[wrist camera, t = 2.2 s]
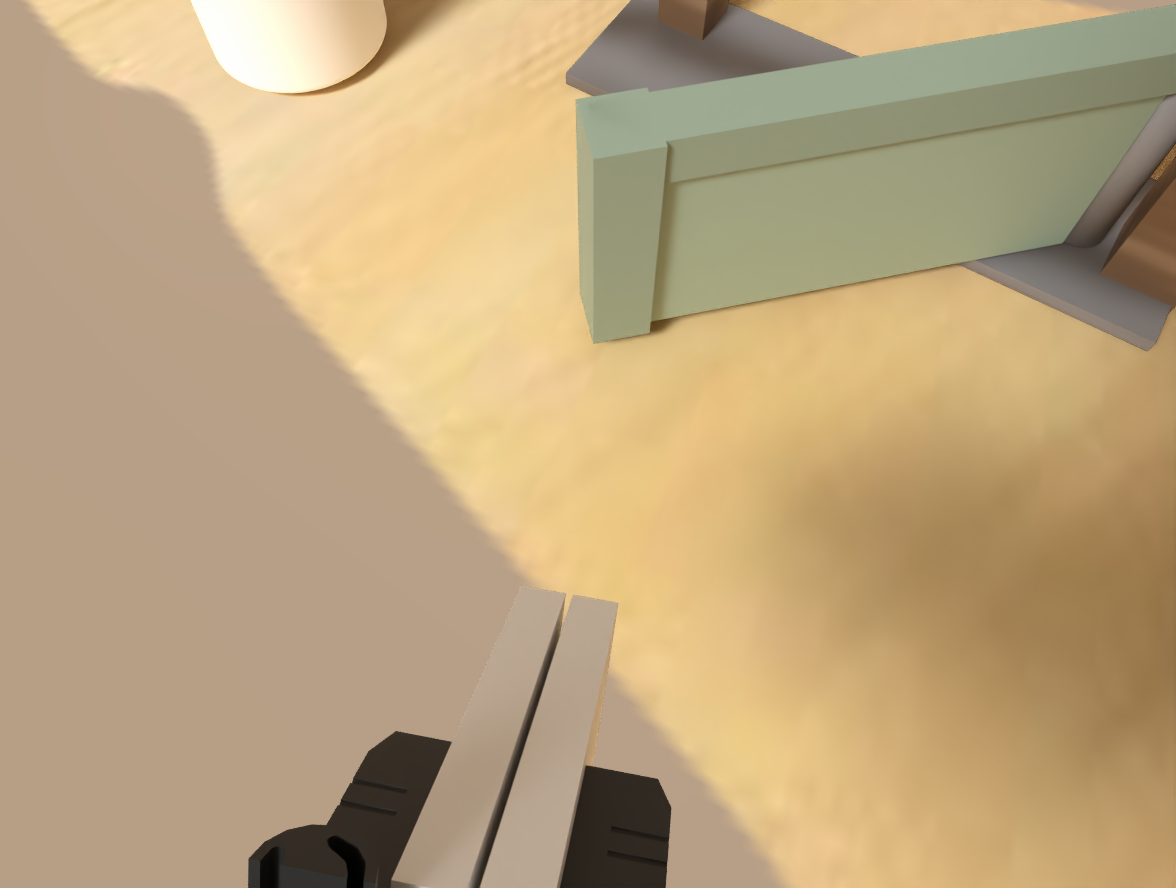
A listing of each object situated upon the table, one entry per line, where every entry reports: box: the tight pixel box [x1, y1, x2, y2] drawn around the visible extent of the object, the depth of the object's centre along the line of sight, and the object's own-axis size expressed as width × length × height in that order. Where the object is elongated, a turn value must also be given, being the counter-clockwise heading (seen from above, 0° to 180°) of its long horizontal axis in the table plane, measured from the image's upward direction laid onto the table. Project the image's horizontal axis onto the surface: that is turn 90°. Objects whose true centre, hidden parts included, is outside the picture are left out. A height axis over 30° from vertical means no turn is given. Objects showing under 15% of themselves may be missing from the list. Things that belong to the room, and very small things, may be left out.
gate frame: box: [566, 0, 1176, 351], centre depth 35 cm, size 8×28×15 cm, turn 58°
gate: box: [576, 4, 1176, 344], centre depth 33 cm, size 2×22×10 cm, turn 103°
